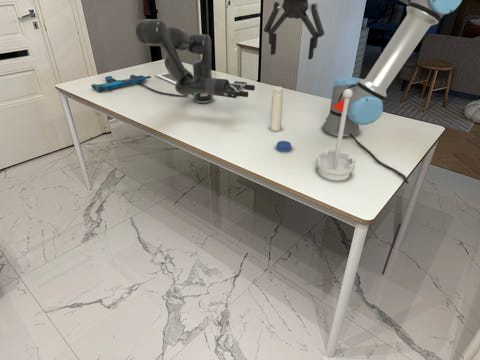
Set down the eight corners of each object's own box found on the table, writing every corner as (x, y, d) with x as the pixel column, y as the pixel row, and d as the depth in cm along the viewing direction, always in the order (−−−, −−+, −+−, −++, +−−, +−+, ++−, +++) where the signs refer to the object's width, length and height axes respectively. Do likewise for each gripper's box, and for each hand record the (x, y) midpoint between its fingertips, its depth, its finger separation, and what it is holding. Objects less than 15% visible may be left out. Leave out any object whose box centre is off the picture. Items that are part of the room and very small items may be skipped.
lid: (277, 144, 139) (277, 140, 137) (290, 145, 138) (291, 141, 137) (276, 151, 134) (276, 146, 133) (290, 152, 133) (290, 147, 132)
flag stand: (338, 160, 128) (352, 80, 111) (360, 177, 117) (380, 93, 101) (308, 166, 124) (318, 85, 107) (328, 185, 113) (343, 98, 97)
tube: (281, 130, 150) (284, 89, 140) (271, 131, 150) (273, 89, 140) (279, 126, 154) (282, 86, 144) (269, 126, 154) (271, 86, 143)
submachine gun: (137, 69, 223) (155, 75, 206) (138, 75, 225) (156, 81, 208) (84, 79, 204) (99, 87, 188) (85, 85, 206) (101, 94, 190)
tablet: (155, 75, 221) (155, 75, 220) (182, 70, 232) (182, 69, 231) (182, 87, 200) (182, 86, 200) (210, 80, 211) (209, 80, 211)
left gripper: (210, 83, 144) (245, 88, 139) (223, 74, 155) (256, 77, 150) (211, 100, 148) (245, 105, 144) (223, 90, 159) (256, 94, 155)
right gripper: (340, -15, 103) (330, 57, 114) (264, -17, 112) (262, 50, 124) (333, -13, 97) (324, 62, 109) (255, -16, 107) (253, 54, 118)
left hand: (251, 91), depth 147 cm, fingers open, 8 cm apart
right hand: (291, 56), depth 116 cm, fingers open, 13 cm apart
